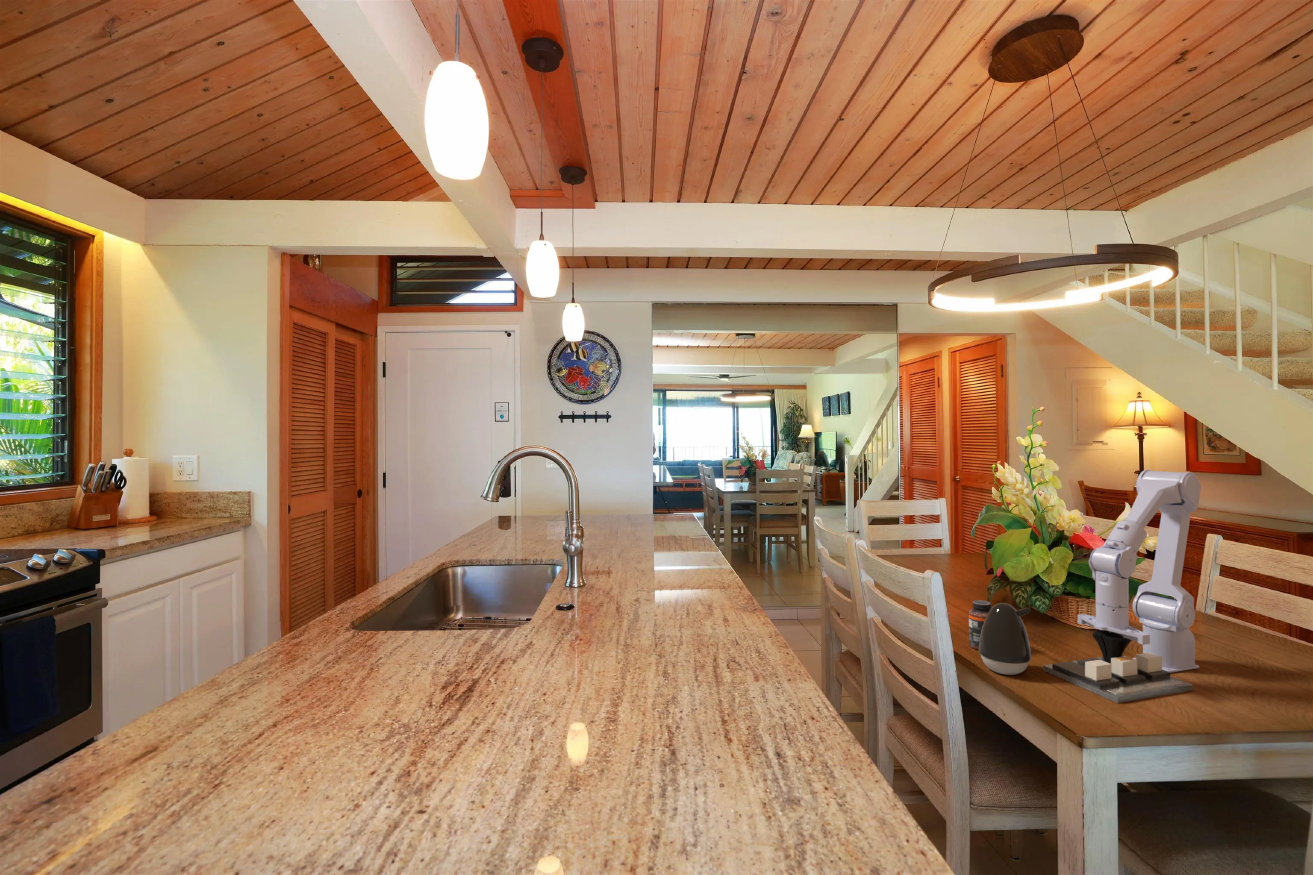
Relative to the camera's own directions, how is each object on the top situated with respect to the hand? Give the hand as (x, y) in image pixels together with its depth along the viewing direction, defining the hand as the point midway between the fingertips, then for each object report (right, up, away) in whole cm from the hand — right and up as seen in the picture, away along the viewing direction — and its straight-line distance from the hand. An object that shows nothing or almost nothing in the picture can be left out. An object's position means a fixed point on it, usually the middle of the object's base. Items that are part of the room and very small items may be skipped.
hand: (1112, 666), depth 133 cm
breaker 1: (-6, -1, -4) cm, 7 cm away
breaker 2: (+7, 0, -1) cm, 7 cm away
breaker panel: (0, -3, -1) cm, 3 cm away
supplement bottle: (-18, -3, +20) cm, 26 cm away
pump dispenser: (-20, -3, +5) cm, 21 cm away
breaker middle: (+1, 0, -3) cm, 3 cm away
